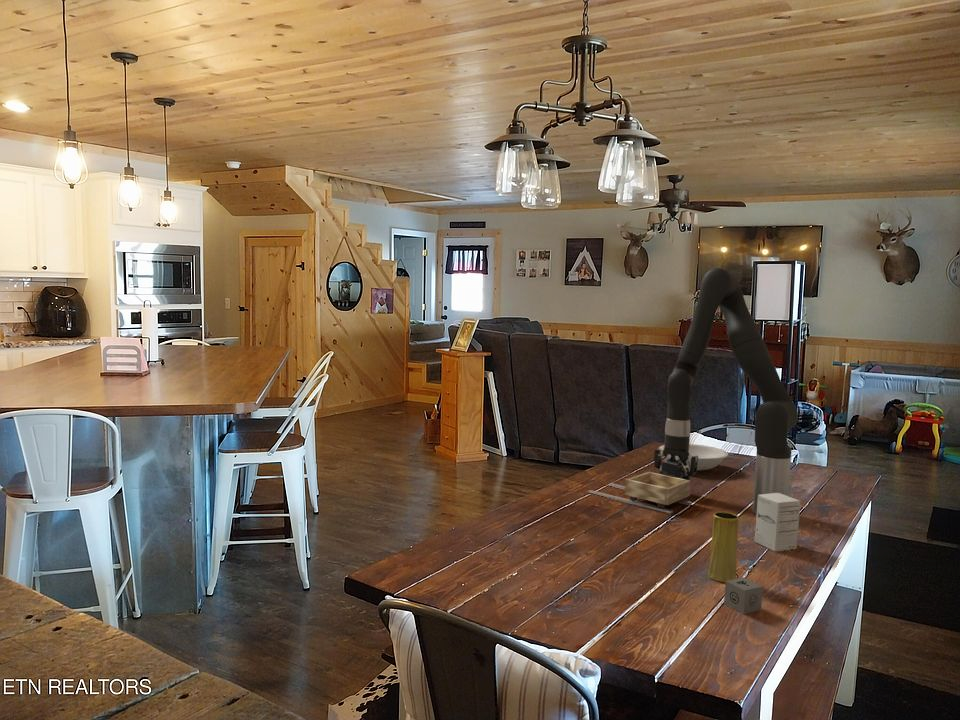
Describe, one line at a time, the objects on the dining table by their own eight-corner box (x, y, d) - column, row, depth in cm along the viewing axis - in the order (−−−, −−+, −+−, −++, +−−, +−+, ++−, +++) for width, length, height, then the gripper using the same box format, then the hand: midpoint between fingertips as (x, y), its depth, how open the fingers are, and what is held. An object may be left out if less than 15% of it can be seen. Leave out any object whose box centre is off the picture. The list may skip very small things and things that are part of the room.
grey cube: (741, 600, 150) (743, 577, 149) (761, 610, 145) (762, 586, 145) (723, 604, 147) (725, 581, 147) (743, 614, 143) (745, 590, 142)
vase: (713, 570, 165) (717, 509, 164) (740, 577, 162) (744, 515, 160) (703, 577, 161) (707, 515, 159) (730, 585, 157) (734, 521, 155)
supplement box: (753, 542, 185) (756, 494, 184) (776, 539, 188) (779, 491, 186) (774, 552, 178) (778, 502, 177) (797, 549, 181) (801, 500, 179)
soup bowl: (734, 467, 265) (735, 449, 264) (717, 481, 245) (718, 461, 244) (669, 457, 278) (670, 440, 277) (648, 469, 257) (649, 451, 257)
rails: (691, 504, 217) (692, 501, 216) (670, 513, 206) (670, 511, 206) (611, 485, 235) (611, 483, 235) (587, 493, 225) (587, 491, 225)
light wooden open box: (689, 500, 217) (690, 480, 217) (667, 510, 207) (668, 489, 206) (647, 490, 226) (648, 471, 226) (624, 499, 216) (625, 479, 215)
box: (675, 498, 222) (677, 464, 221) (659, 494, 226) (661, 461, 225) (688, 493, 228) (690, 461, 227) (672, 489, 232) (674, 457, 231)
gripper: (704, 435, 223) (701, 487, 225) (662, 428, 233) (659, 478, 234) (693, 438, 218) (690, 492, 219) (650, 431, 227) (647, 482, 229)
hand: (674, 484), depth 227 cm, fingers open, 7 cm apart
